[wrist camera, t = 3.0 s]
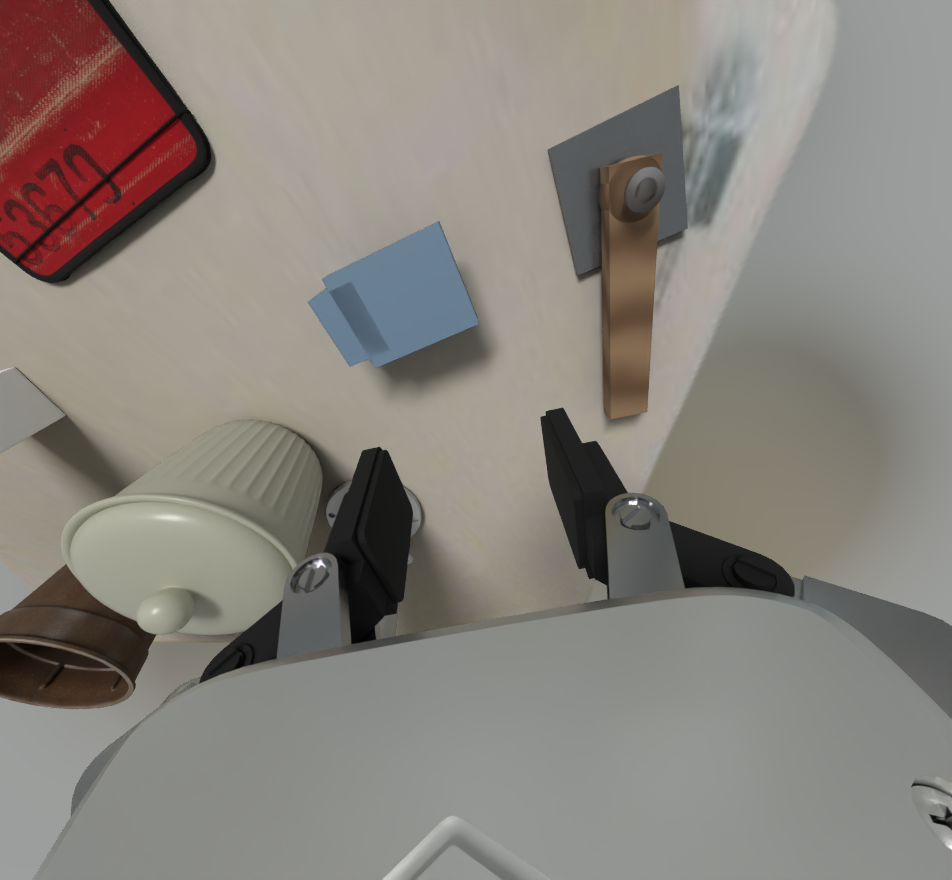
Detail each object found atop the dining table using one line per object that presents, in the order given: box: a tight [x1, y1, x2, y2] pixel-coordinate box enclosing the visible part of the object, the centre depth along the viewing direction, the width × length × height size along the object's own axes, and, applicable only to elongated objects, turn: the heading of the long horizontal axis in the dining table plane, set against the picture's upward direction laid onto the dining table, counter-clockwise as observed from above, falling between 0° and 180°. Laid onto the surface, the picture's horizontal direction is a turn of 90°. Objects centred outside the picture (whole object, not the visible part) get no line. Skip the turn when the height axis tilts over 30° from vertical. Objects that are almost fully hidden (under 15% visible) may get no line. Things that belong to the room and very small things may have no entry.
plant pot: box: [0, 564, 156, 709], centre depth 46 cm, size 16×16×16 cm
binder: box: [0, 0, 211, 283], centre depth 26 cm, size 16×2×21 cm
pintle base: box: [548, 85, 688, 275], centre depth 31 cm, size 10×10×1 cm
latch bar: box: [598, 152, 665, 419], centre depth 34 cm, size 23×4×4 cm, turn 12°
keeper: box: [308, 221, 479, 368], centre depth 32 cm, size 8×12×6 cm, turn 112°
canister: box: [61, 419, 323, 635], centre depth 36 cm, size 18×18×21 cm
